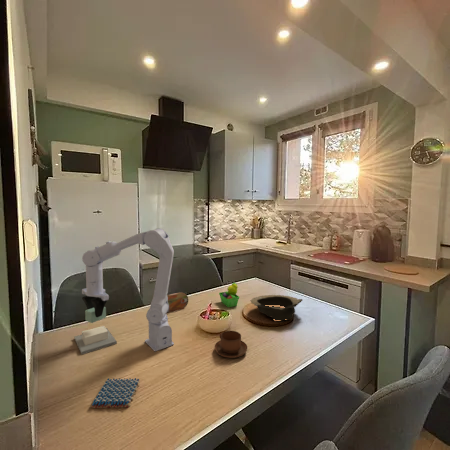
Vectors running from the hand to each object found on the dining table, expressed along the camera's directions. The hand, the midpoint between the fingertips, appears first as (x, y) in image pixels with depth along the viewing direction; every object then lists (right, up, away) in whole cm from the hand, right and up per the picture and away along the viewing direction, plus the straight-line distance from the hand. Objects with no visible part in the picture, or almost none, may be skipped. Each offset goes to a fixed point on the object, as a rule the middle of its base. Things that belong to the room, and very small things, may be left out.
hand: (95, 314), depth 101 cm
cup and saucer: (+53, -12, -6) cm, 54 cm away
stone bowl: (+75, -10, +28) cm, 81 cm away
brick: (0, -2, 0) cm, 2 cm away
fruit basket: (+53, -8, +41) cm, 68 cm away
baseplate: (0, -10, 0) cm, 10 cm away
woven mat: (+20, -13, -28) cm, 37 cm away
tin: (+24, -9, +32) cm, 41 cm away
